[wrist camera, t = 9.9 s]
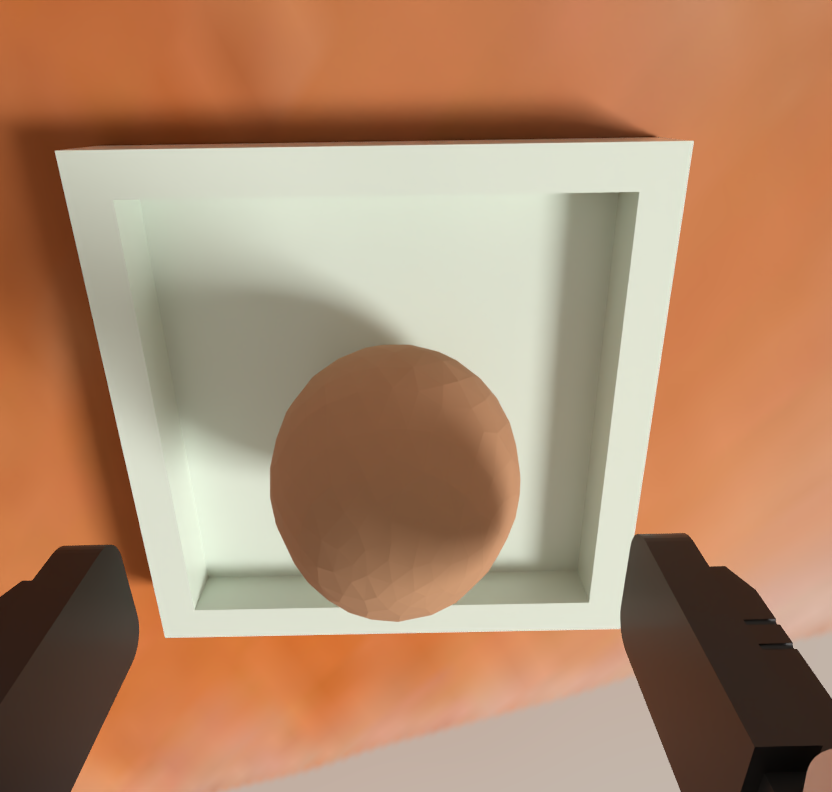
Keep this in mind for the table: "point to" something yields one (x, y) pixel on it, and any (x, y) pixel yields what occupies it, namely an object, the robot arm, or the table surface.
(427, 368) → the egg
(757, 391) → the table surface
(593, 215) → the dish
